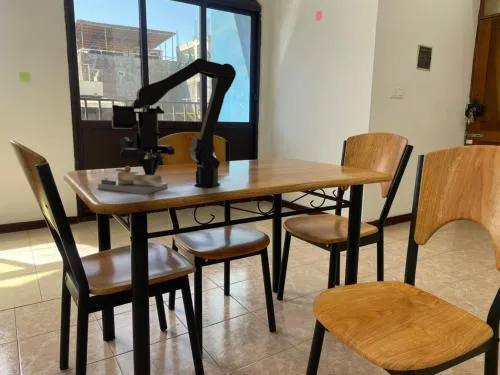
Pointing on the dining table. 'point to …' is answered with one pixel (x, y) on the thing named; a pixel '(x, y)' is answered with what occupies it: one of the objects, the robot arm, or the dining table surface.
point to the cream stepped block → (137, 178)
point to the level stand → (129, 187)
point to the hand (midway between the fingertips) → (149, 179)
